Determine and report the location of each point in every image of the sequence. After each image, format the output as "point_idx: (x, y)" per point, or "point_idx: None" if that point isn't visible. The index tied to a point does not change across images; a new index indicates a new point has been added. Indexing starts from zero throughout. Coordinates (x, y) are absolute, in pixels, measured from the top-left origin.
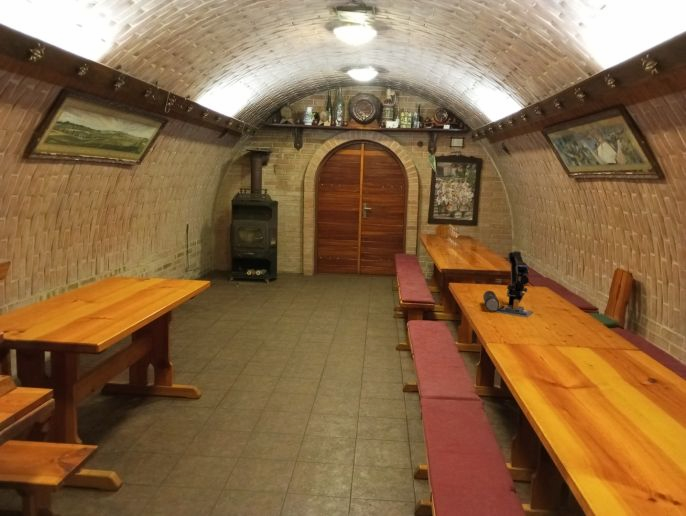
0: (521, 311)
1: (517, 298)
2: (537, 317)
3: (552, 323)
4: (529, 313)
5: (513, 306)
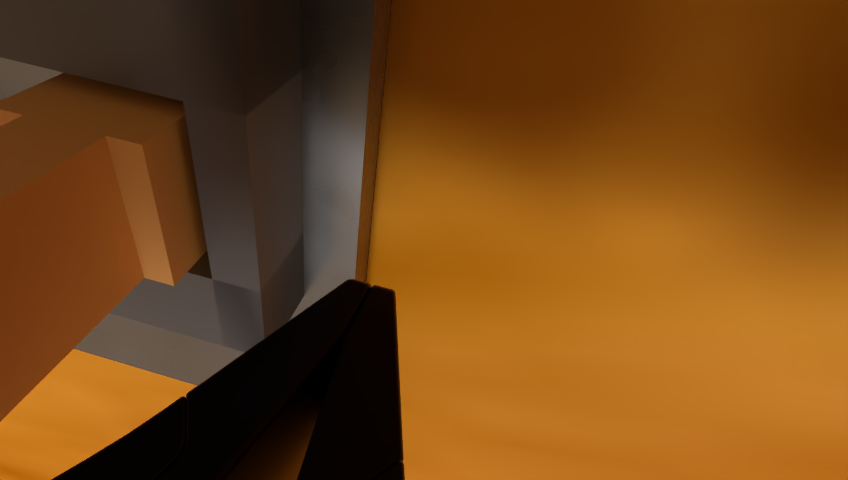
0: None
1: (165, 432)
2: (125, 402)
3: (24, 467)
4: (129, 356)
5: (28, 103)
